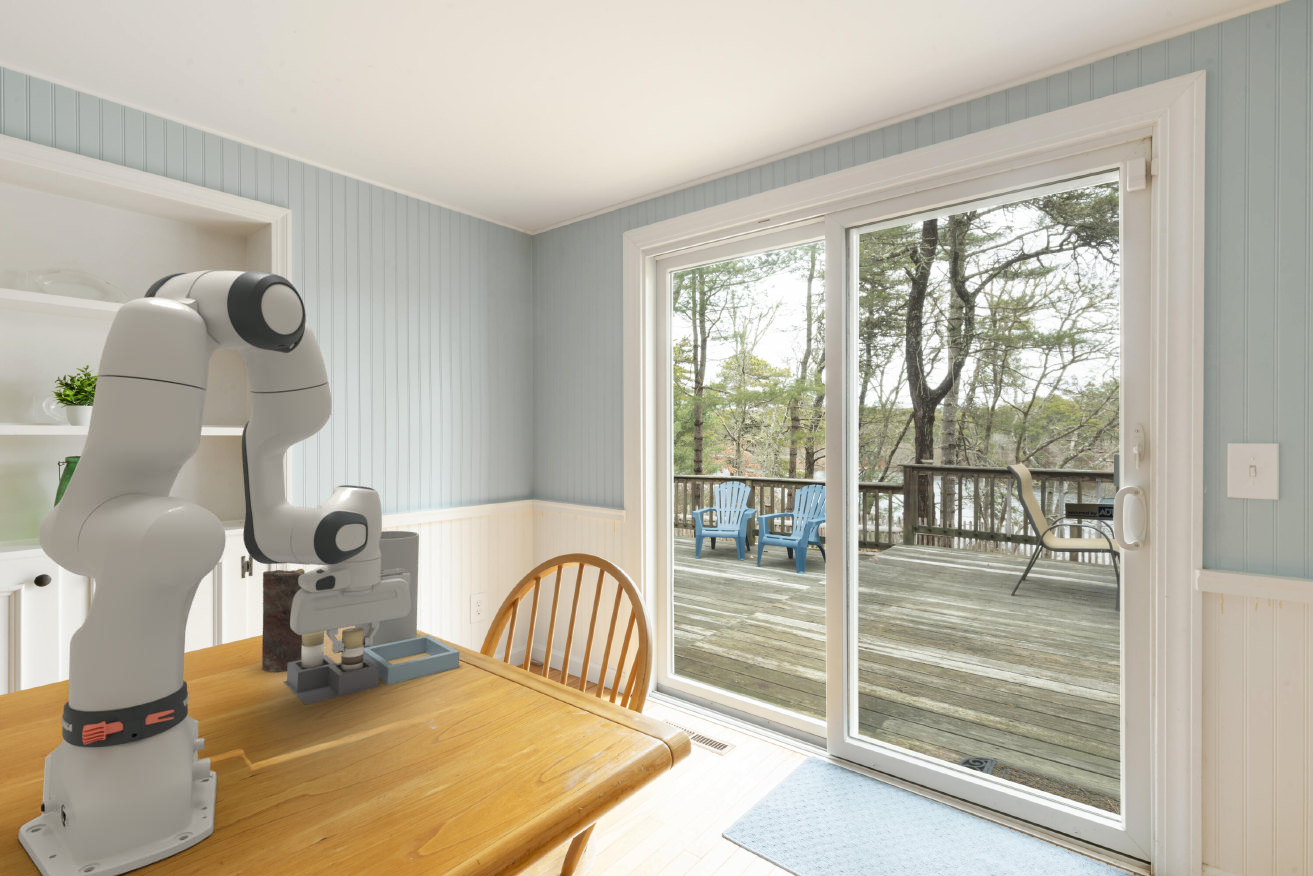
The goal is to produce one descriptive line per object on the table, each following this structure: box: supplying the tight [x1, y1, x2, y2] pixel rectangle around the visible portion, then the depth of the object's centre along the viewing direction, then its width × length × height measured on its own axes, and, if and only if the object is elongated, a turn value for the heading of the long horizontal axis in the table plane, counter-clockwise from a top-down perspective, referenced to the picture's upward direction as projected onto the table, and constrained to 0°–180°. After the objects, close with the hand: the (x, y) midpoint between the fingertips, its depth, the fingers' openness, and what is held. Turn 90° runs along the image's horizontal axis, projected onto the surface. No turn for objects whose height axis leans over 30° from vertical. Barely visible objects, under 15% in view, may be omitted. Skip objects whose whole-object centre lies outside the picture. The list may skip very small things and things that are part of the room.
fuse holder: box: [283, 654, 381, 706], centre depth 118 cm, size 14×13×4 cm
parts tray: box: [363, 634, 460, 686], centre depth 128 cm, size 14×14×4 cm
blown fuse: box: [340, 627, 364, 672], centre depth 117 cm, size 4×4×10 cm
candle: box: [261, 568, 306, 673], centre depth 126 cm, size 8×7×20 cm
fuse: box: [301, 631, 325, 670], centre depth 118 cm, size 4×4×10 cm
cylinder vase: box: [354, 530, 420, 648], centre depth 140 cm, size 12×12×25 cm
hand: (352, 649), depth 117 cm, fingers closed on blown fuse, 4 cm apart
